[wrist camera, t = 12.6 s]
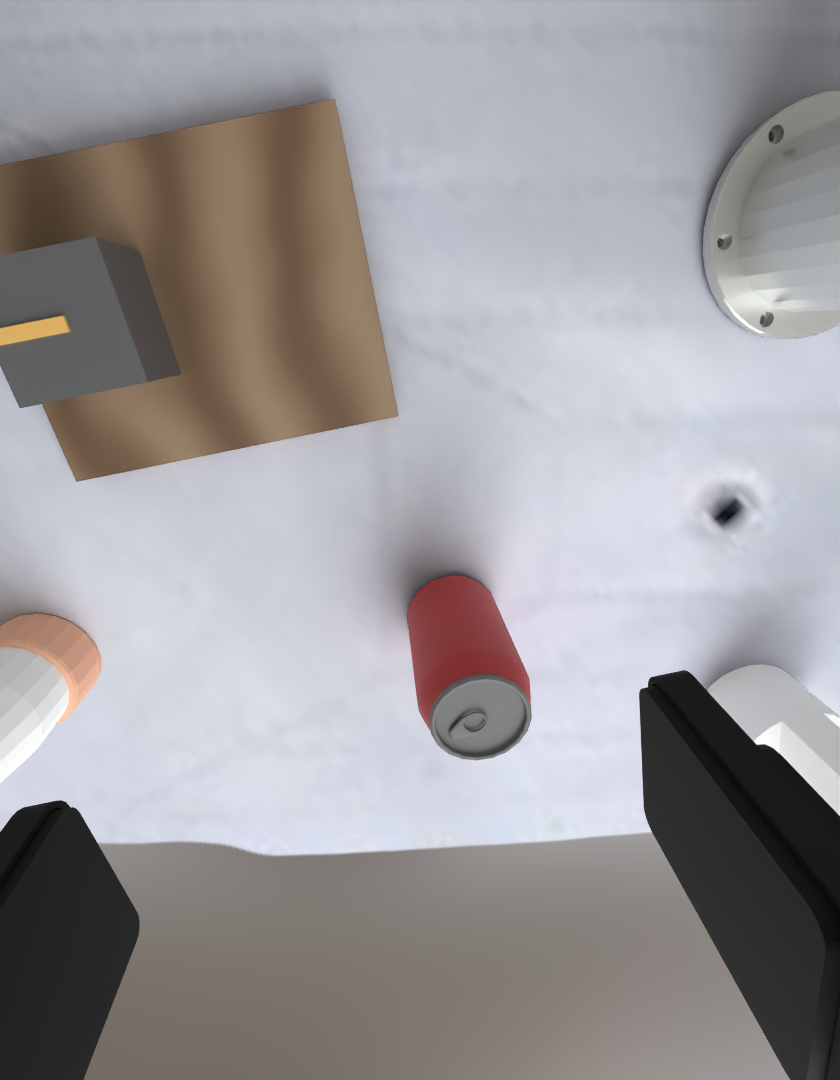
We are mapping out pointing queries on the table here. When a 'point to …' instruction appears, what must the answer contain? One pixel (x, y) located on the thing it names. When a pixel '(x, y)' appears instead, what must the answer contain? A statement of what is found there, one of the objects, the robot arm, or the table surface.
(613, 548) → the table surface
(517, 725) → the beer can
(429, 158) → the table surface
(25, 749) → the pepper shaker
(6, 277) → the grey cube with stripe
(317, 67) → the table surface
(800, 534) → the table surface
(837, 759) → the cylinder with rectangular tab
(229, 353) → the base plate
